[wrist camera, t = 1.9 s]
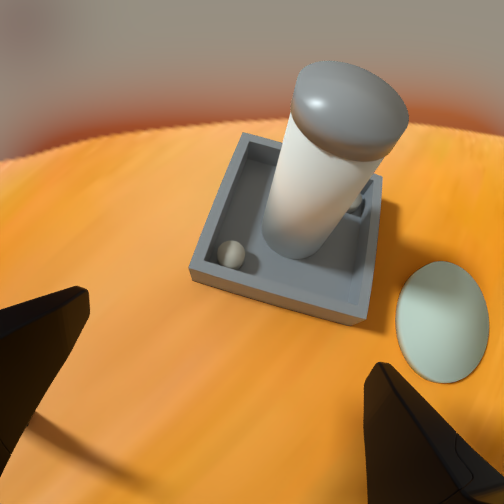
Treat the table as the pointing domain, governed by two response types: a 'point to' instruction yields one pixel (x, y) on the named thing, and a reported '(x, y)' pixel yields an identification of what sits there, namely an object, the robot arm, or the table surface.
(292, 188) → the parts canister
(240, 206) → the parts tub
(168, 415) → the table surface
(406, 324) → the pad
